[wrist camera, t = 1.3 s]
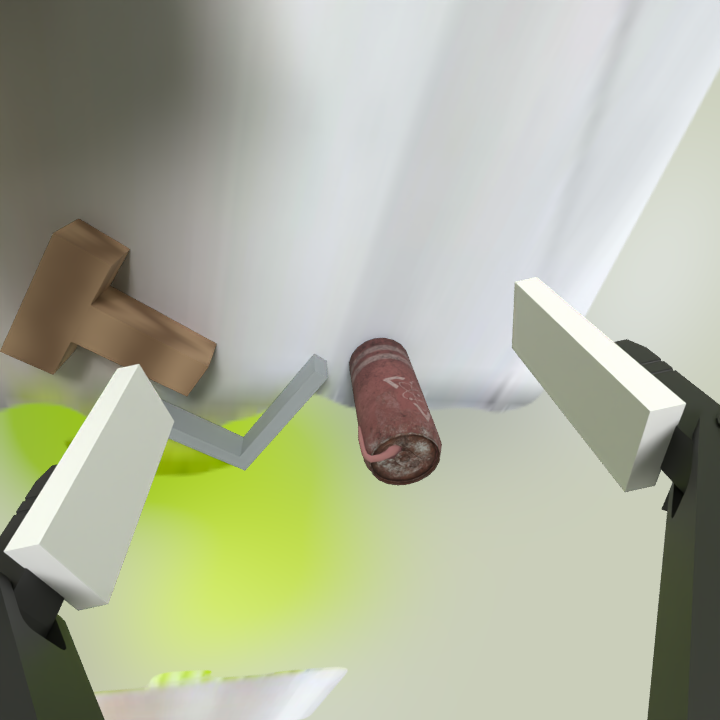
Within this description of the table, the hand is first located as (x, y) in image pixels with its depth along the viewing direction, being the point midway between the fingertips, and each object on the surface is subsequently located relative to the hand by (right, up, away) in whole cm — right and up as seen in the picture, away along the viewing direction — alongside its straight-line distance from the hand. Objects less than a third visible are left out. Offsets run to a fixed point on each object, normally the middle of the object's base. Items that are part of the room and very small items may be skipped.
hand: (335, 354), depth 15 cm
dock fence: (-12, -3, +28) cm, 30 cm away
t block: (-20, +3, +23) cm, 30 cm away
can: (+3, 0, +28) cm, 28 cm away
